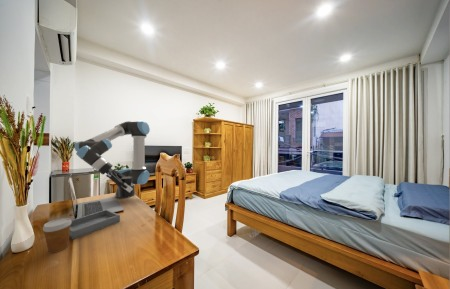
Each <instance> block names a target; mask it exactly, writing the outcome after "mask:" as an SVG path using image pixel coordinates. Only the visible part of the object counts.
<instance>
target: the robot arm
mask: <svg viewBox="0 0 450 289" xmlns="http://www.w3.org/2000/svg"><path fill="white" fill-rule="evenodd" d="M150 130H151V129H150V125H149V124H148V122H147V121H145V120H128V121H124V122H121V123H119V124H117V125H115V126H114V127H113V128H111V129H108V130H106V131H104V132H102V133H100V134H98V135H95V136H93V137H91V138H89V139H86V140H84V141H82V140H81V141H78V142H76V143H75V144H74V150H75V152H76V156H78V157H79V159H80V160H82V161H84V163H87V165H89V166H91V168H92V169H95V170H96V171H98V173H100V174H101V175H105V174H106V175H105V176H106V177H107V178H109V179H110V180H111V181H112V182H114V184H116V185H117V188H116V189H115V190H116V191H115V193H114V196H115V197H114V198H117V199H122V198H121V197H119V187H120V186H121V187H123V188H124V189H125V190H127V191H128V192H129V193H130V192H131V191H132V190H133V189H132V188H131V187H130V186H128V185H127V184H126V183H124V182H123V181H122V180H121V179H120V178H122V177H129V176H130V177H132V184H134V187H135V185H139V186H140V185H145V184H146V183H148V181H149V179H150V175H151V174H150V172H149V171H148V170H147V167H146V163H145V159H146V158H145V157H146V156H145V154H146V153H145V149H146V148H145V147H146V146H145V144H146V142H145V139H146V138H147V135H148V134H149V133H150V132H151V131H150ZM128 135H131V138H133V140H132V141H133V146H132V147H133V151H132V152H133V157H132V158H133V162H132V163H133V164H132V165H133V167H129V168H123V169H119V170H117V169H115V168H114V169H113V164H111V163H110V162H108V160H107V159H105V158H103V156H102V155H103V154H105V153H106V152H108V151H109V150H110V149H112V147H113V143H112V142H111V141H113V140H115V139H117V138H119V137H124V136H128ZM135 194H136V190H135V189H134V195H133V196H135Z"/></svg>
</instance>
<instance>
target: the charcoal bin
mask: <svg viewBox="0 0 450 289" xmlns="http://www.w3.org/2000/svg"><path fill="white" fill-rule="evenodd" d="M70 220H71V221H72V223H71V225H70V233H69V239H71V240H76V239H78V238H81V237H85V236H87V235H89V234H91V233H94V232H97V231H99V230H102V229H104V228H107V227H110V226H112V225H115V224H117V223H120V222H121V215H120V214H118V213H116V212H114V211H112V210H110V209H104V210H101V211H97V212H94V213H90V214H87V215H84V216H82V217H78V218H74V219H70Z"/></svg>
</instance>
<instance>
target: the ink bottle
mask: <svg viewBox="0 0 450 289" xmlns="http://www.w3.org/2000/svg"><path fill="white" fill-rule="evenodd" d="M120 179H121V180H122V181H123V182H124V183H126V184H127V185H128V186H130V187H131V188H132V189H133V190H132V191H131V192H130V193H129V192H128V191H127V190H125V189H124V188H123V187H121V186H120V187H119V197H121V198H120V199H126V198H131V197H133V196H135V195H134V190H135V186H134V185H135V184H132V177H130V176H129V177H122V178H120Z"/></svg>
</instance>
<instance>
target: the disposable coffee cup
mask: <svg viewBox="0 0 450 289" xmlns="http://www.w3.org/2000/svg"><path fill="white" fill-rule="evenodd" d="M71 220H72V219H71V218H70V217H61V218H56V219H53V220H50V221H48V222H46V223H44V224H43V227H42V230H43V233H44V237H45V242H46V245H47V250H48V253H52V254H53V253H54V254H55V253H57V252H61V251H63V250H65V249H66V248H68V246H69V239H70V237H69V233H70V225H71V223H72V221H71Z"/></svg>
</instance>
